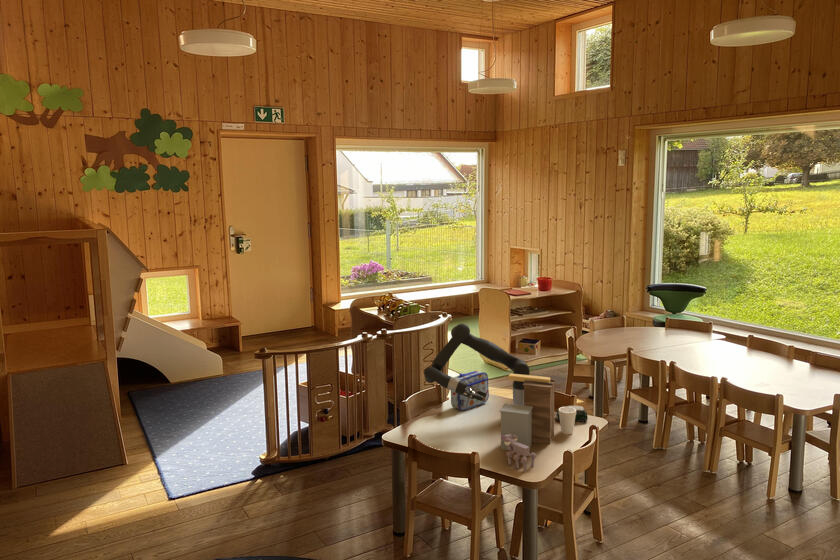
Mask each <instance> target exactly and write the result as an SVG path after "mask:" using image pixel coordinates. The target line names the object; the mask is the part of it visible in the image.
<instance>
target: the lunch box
mask: <svg viewBox="0 0 840 560" xmlns="http://www.w3.org/2000/svg"><path fill="white" fill-rule="evenodd" d="M453 378H457V379H459V380H462V381H464V382H466V383H467V384H468V385H467V386H468V387H470V386H474V387H476V388H479V389H481V391H482V392H484V393H487V395H486V397H483V396H481V395H480V394H479V396H481V397H483V400H482V401H480V400H477V399H476V398H475V399H471V398H468V397H466V396H464V395H460V394H457V393H455V392H453V391H451V390H450V405H451V406H452V407H451V408H455V409H459V410H460V411H462V412H463V411H464V412H465V411H468V410H470V409H472V408H475V407H478V406H480V405H483V404H486V402H488V400H489V397H490V394H489V393H490V392H489V391H490V390H489V375H488V374H487V372H483V371H479V370H473V371H469V372H466V373H462V372H461V373H458V375H457V376H454V377H453ZM477 392H478V391H477ZM476 395H478V394H476Z"/></svg>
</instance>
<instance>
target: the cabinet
mask: <svg viewBox="0 0 840 560" xmlns="http://www.w3.org/2000/svg"><path fill="white" fill-rule="evenodd" d="M555 384H556V379H555V378H550V383H547V382H537V381H527V380H524V384H523V386H524V405H525V406H533V408H532V439H531V443H539V444H546V445H550V444H551V443H552V441H553V438H554V436H555V388H556V387H555Z"/></svg>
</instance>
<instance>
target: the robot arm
mask: <svg viewBox="0 0 840 560" xmlns="http://www.w3.org/2000/svg"><path fill="white" fill-rule="evenodd" d="M450 336H451V338H450V339H449V341H448V342H447V343H445V345H444V347H442V348H441V349H440V351H439V352H438V353H437V354H436V356H435V358H433V361H432V364H431V366H428V367H426V368H425V369H424V371H423V376H424V380H425V381H426V382H427V383H428V384H432V383H437V384H438V385H439V386H441V388H445V389H447V390H449V391H450V392H451V391H453V392H455V393H457V394H460V395H464V396H466V397H468V398H471V399H475V398H476V399H477V400H480V401H482V400H483V397H486V395H487V393H484V392H482V391H481V389H479V388H476V387H474V386H470V387H468V386H467V385H468V384H467V383H466V382H464V381H462V380H459V379H457V378H454V377H453V376H451V375H449V374H445V373H444V372H443V369H444V367H445V366H446V365H447V364H448V362H449V361H450V359H451V357H452V356H453V355H454V353H455V352H456V351H457V349H458V348H459V347H460V345H462V344H463V345H465V346H467V347H469V348H471V349H472V350H474V351H475V352H477V353H479V355H481V356H484V357H485V358H487V359H488V360H491V361H492V362H496V363H499V364H502V365H504V366H505V367H506V368H508V369H509V370H511V371H512V372H513V374H521V375H531V374H530V367H529V365H528V363H527V362H526V361H525V360H524V359H522V358H519V357H516V356H515V355H513V354H511V353H509V352H507V351H506V350H505V349H503V348H502V347H500V346H499V345H497V344H496V343H494V342H492V341H490V340H488V339H484V338H481V337H478V336H475V335H473V334H472V333H471V329H470V327H469V325H467V324H466V323H458V324H457V325H455V326H453V328H451V331H450ZM523 384H524V382H522V381H512V404H516V405H524V386H523ZM477 391H478V392H477ZM476 394H478V395H476ZM479 394H480V395H481V396H483V397H481V396H479Z"/></svg>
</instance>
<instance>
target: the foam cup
mask: <svg viewBox="0 0 840 560" xmlns="http://www.w3.org/2000/svg"><path fill="white" fill-rule="evenodd" d="M558 410H559V417H560V422H559V424H560V425H559V426H560V431H561V434H564V435H571V434H573V433H574V427H575V422H576V421H575V416H576V409H575V408H572V407H567V406H560V407H559V408H558Z"/></svg>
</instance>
